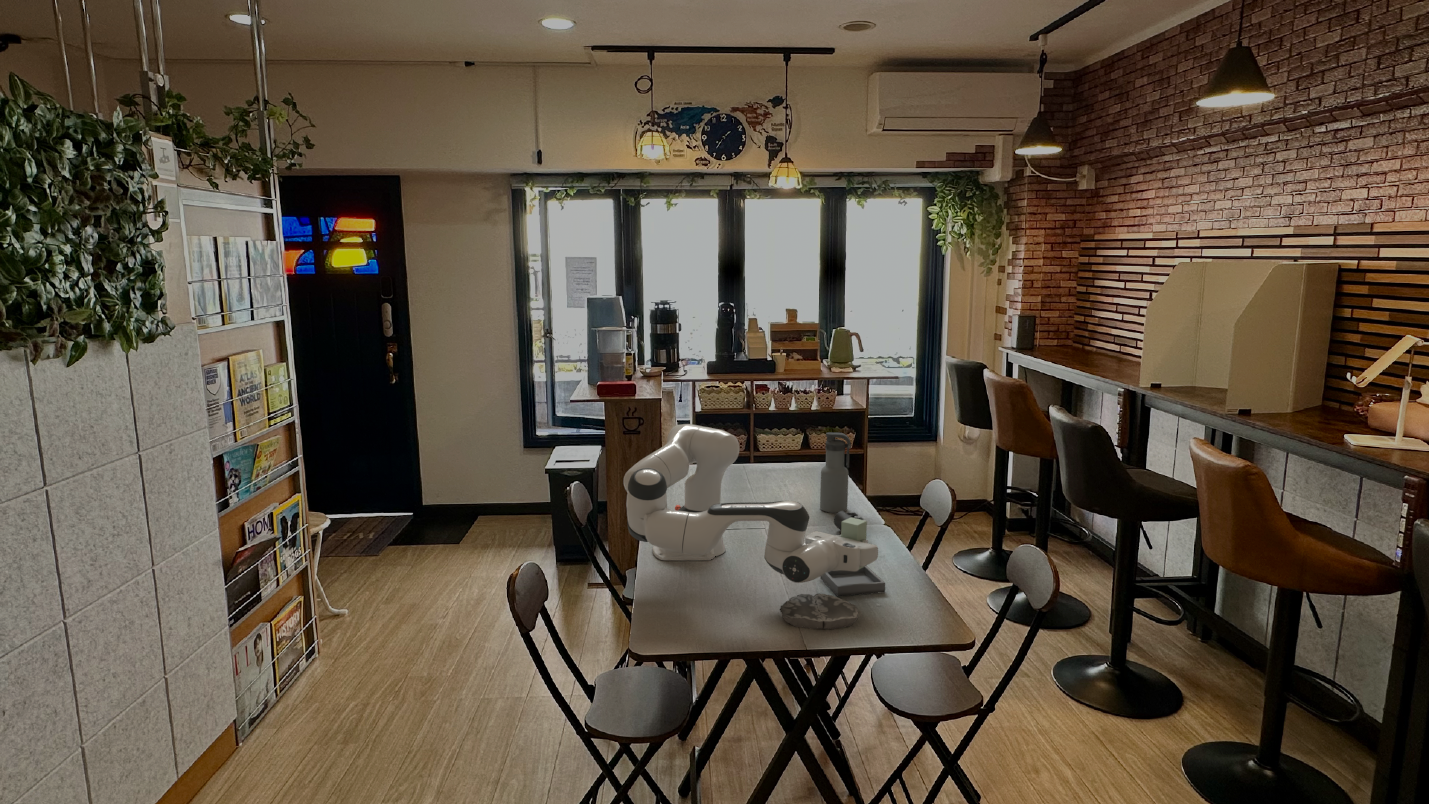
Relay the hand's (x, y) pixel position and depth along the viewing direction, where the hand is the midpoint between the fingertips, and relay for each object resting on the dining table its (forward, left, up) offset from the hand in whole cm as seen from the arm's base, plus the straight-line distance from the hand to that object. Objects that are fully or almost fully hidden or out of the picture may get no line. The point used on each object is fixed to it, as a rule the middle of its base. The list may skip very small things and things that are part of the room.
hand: (855, 539), depth 233 cm
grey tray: (-1, 0, -13) cm, 13 cm away
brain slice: (-17, -18, -14) cm, 28 cm away
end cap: (+14, +41, -13) cm, 45 cm away
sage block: (-1, -1, -7) cm, 8 cm away
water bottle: (+19, +68, -13) cm, 72 cm away
